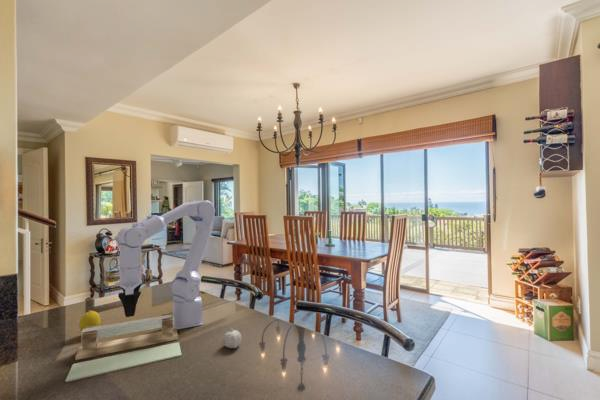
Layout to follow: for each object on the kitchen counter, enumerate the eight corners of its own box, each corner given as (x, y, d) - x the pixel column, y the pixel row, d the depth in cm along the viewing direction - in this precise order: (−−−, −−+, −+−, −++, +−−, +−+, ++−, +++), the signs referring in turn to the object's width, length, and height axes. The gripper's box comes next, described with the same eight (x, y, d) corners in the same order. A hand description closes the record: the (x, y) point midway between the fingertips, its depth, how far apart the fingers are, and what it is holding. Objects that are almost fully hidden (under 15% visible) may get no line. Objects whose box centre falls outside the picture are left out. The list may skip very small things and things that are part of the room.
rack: (176, 331, 98) (176, 312, 98) (178, 339, 92) (178, 318, 92) (79, 349, 86) (79, 328, 86) (75, 359, 80) (75, 336, 80)
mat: (178, 343, 90) (178, 342, 90) (181, 355, 83) (181, 354, 83) (72, 365, 78) (72, 364, 78) (65, 382, 71) (65, 380, 71)
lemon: (89, 340, 92) (89, 314, 92) (74, 338, 93) (74, 313, 93) (104, 332, 97) (104, 307, 97) (90, 330, 98) (90, 306, 98)
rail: (173, 322, 96) (173, 314, 96) (174, 325, 93) (174, 316, 93) (82, 337, 85) (83, 328, 85) (81, 341, 82) (81, 332, 82)
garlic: (221, 343, 90) (221, 326, 90) (239, 340, 92) (239, 323, 92) (223, 352, 84) (223, 334, 84) (242, 349, 86) (242, 331, 86)
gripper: (117, 263, 94) (117, 306, 94) (112, 273, 81) (112, 323, 81) (142, 261, 97) (142, 302, 97) (141, 270, 84) (141, 318, 84)
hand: (130, 311), depth 89 cm, fingers open, 7 cm apart
